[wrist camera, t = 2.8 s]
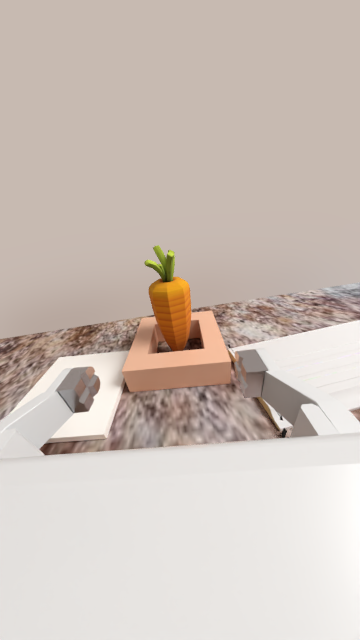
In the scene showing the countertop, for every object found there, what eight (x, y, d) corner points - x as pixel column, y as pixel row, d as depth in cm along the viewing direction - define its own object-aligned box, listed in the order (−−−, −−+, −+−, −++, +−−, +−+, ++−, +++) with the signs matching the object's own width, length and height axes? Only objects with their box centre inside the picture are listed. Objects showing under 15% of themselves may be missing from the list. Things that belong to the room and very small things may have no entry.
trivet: (-11, 447, 17) (-17, 443, 16) (61, 361, 27) (59, 357, 27) (106, 438, 16) (103, 434, 16) (134, 353, 26) (133, 350, 26)
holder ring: (130, 392, 20) (121, 371, 19) (146, 334, 31) (141, 318, 29) (230, 383, 20) (231, 361, 18) (212, 328, 30) (211, 310, 28)
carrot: (197, 364, 23) (186, 245, 16) (161, 367, 23) (133, 252, 16) (194, 342, 27) (184, 240, 20) (163, 345, 28) (143, 246, 20)
